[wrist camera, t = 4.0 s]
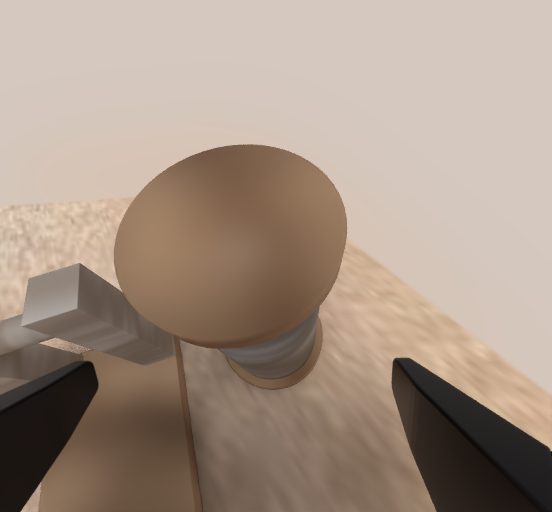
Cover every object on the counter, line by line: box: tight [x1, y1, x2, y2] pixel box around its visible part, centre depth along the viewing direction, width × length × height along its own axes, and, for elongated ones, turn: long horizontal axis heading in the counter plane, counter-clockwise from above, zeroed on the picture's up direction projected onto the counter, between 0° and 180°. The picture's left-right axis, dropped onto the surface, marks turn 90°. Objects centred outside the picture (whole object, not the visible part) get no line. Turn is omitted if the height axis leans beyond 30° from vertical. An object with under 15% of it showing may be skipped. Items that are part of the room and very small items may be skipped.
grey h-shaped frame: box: [0, 263, 202, 512], centre depth 13 cm, size 11×8×10 cm
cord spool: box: [114, 145, 347, 390], centre depth 13 cm, size 6×6×13 cm
